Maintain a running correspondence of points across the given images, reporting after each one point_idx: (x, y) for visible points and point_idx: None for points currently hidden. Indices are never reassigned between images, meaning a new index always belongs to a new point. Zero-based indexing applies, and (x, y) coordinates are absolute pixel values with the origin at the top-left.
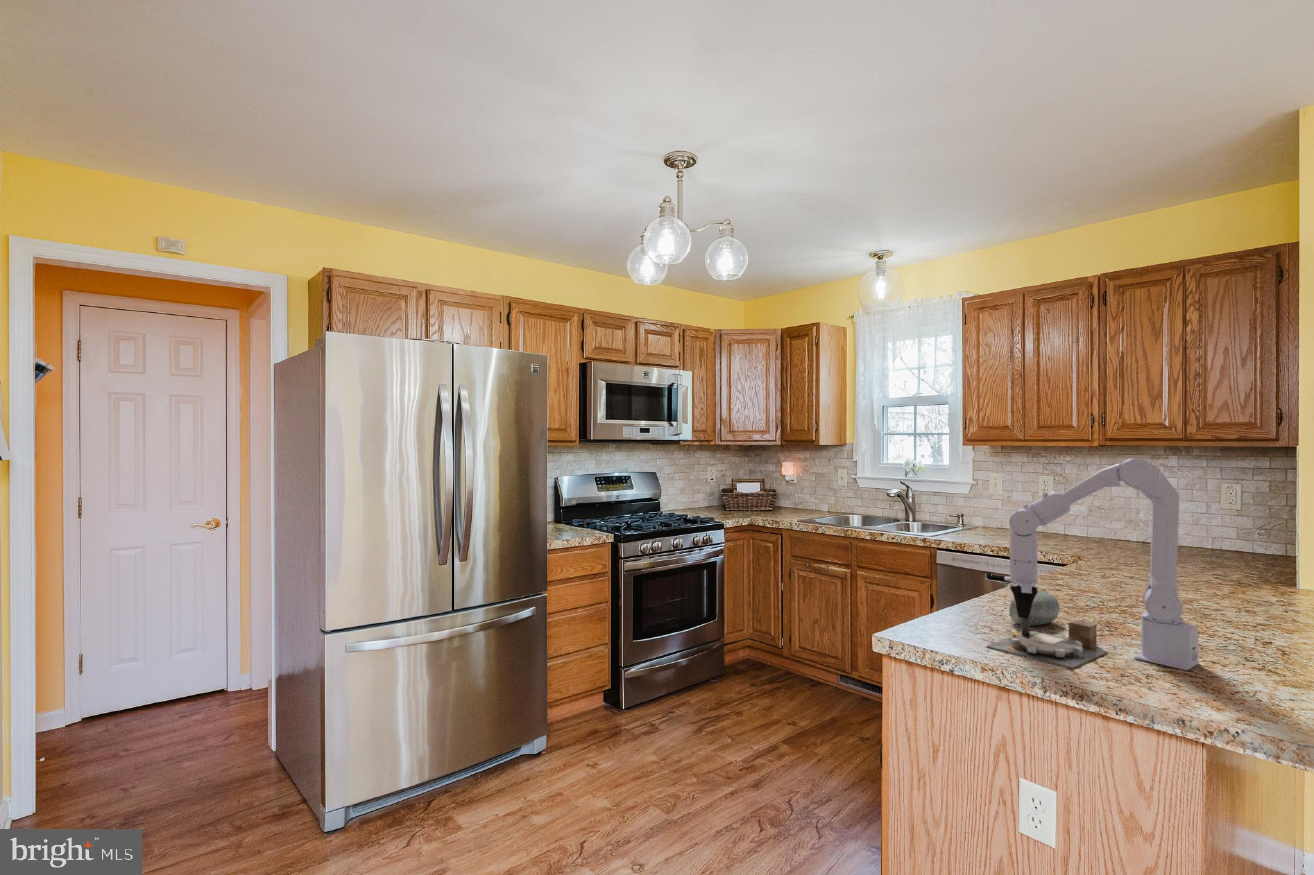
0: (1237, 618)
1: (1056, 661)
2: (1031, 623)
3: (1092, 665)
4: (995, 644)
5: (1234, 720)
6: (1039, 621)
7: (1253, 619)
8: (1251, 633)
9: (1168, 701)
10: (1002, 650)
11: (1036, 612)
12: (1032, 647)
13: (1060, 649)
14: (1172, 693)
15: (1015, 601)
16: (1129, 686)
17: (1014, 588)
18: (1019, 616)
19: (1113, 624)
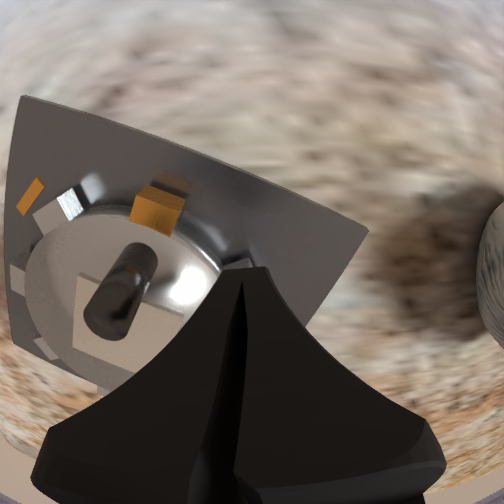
0: (497, 456)
1: (22, 319)
2: (477, 264)
3: (83, 382)
4: (53, 121)
5: (17, 437)
6: (477, 297)
7: (492, 462)
8: (440, 479)
9: (9, 413)
10: (10, 162)
11: (491, 316)
12: (12, 277)
13: (50, 352)
14: (44, 429)
15: (248, 338)
16: (19, 396)
17: (58, 498)
18: (217, 278)
19: (495, 399)
